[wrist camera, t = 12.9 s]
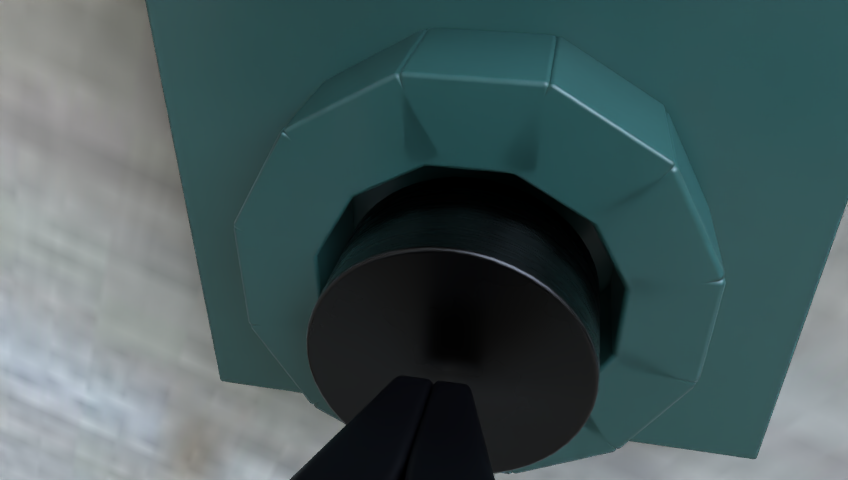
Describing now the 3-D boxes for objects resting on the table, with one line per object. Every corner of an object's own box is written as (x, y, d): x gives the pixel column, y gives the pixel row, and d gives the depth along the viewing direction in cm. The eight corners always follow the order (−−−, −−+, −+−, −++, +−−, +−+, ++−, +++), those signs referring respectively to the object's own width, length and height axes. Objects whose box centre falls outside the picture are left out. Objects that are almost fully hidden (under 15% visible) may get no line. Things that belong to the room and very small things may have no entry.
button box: (879, -41, 10) (991, 37, 7) (741, 392, 14) (777, 551, 11) (190, -69, 12) (55, -15, 9) (252, 327, 16) (176, 452, 13)
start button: (617, 188, 9) (621, 267, 8) (583, 401, 11) (581, 495, 10) (337, 163, 10) (290, 232, 8) (351, 368, 12) (316, 452, 10)
